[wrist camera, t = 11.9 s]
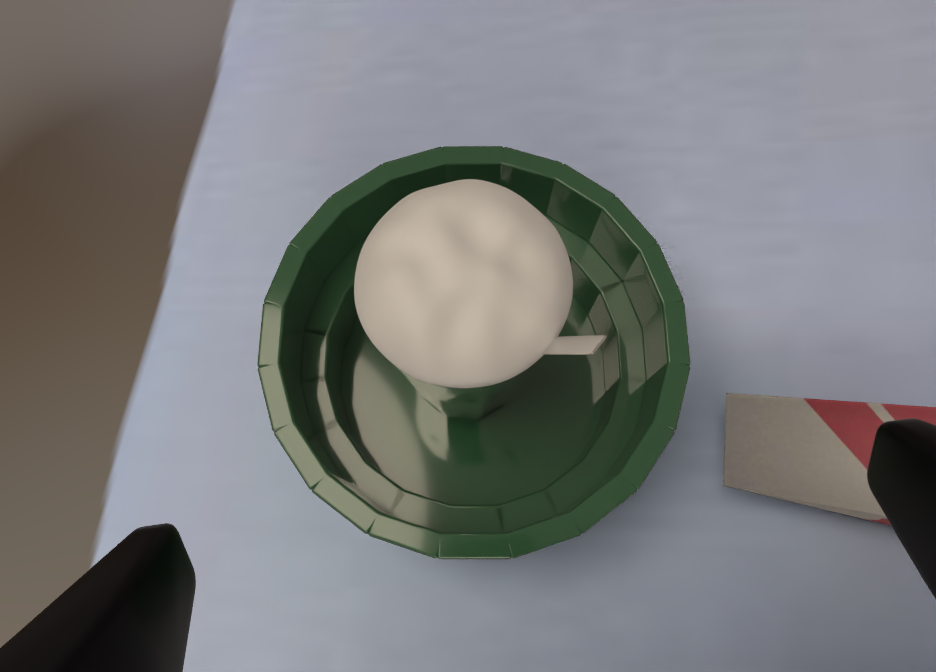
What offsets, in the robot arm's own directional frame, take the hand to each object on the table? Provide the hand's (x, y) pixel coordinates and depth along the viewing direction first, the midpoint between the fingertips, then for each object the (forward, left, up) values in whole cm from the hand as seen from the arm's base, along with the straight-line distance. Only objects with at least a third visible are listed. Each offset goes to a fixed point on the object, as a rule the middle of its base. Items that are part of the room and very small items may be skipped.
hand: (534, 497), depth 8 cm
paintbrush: (+14, -9, -13) cm, 21 cm away
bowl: (+2, +4, -13) cm, 14 cm away
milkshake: (+2, +4, -12) cm, 13 cm away
